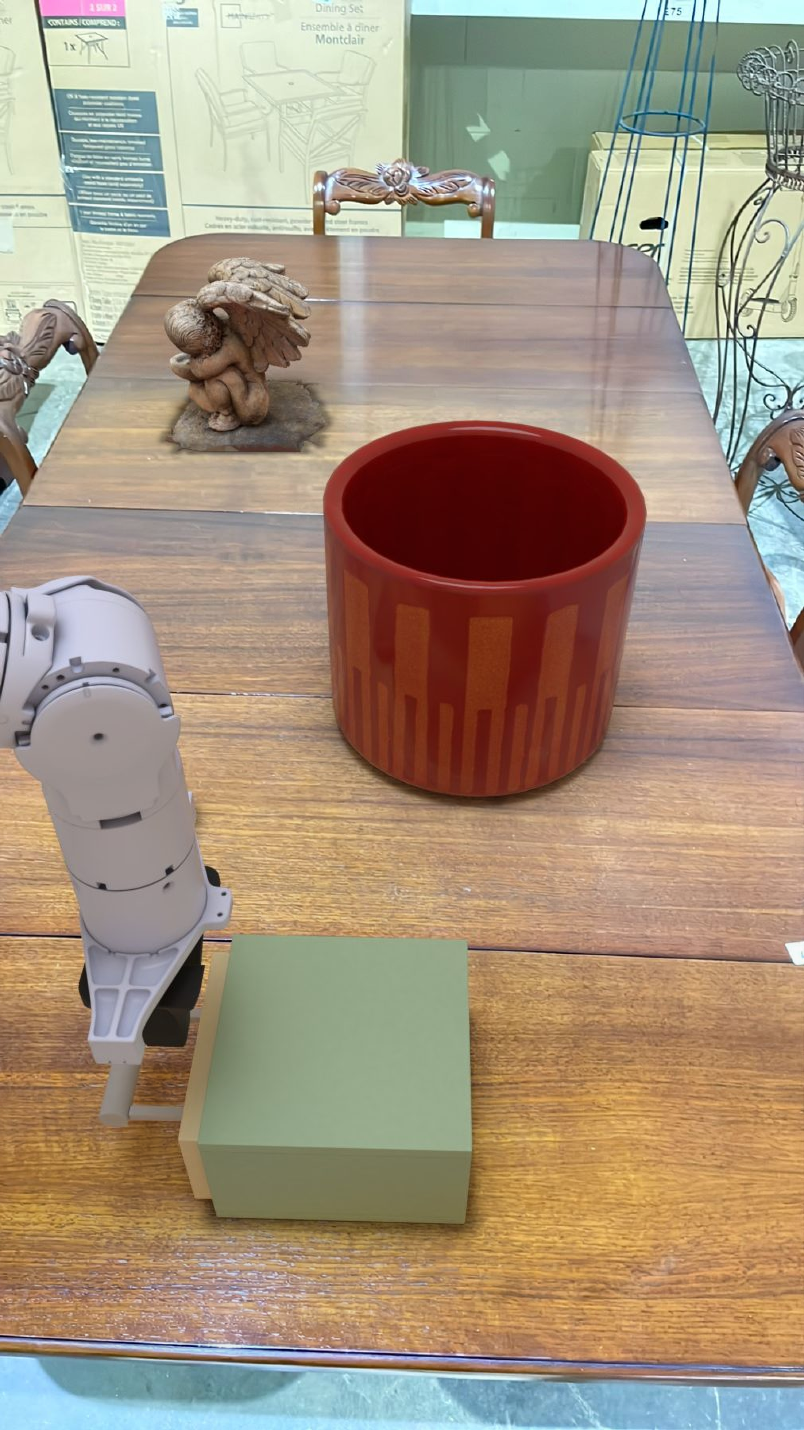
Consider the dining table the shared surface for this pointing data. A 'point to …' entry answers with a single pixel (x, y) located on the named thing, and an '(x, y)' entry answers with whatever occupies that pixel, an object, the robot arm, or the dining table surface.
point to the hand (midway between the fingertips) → (172, 1011)
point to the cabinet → (341, 1081)
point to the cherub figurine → (242, 361)
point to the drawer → (126, 1076)
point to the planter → (478, 602)
